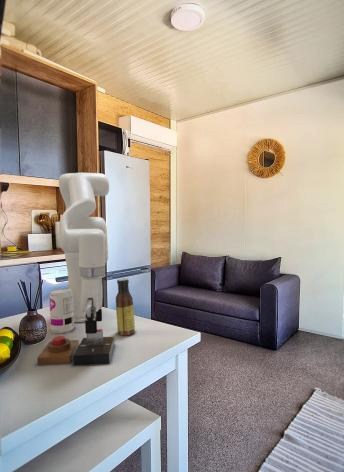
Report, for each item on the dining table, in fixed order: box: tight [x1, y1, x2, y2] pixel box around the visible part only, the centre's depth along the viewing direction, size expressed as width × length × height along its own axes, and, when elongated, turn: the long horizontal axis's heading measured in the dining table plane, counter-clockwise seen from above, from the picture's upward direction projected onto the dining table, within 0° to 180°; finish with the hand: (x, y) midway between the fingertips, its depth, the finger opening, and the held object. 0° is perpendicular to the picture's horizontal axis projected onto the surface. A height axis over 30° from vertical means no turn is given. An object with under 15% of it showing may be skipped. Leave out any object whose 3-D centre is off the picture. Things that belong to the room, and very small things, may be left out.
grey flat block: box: [86, 328, 104, 346], centre depth 93 cm, size 5×2×5 cm, turn 94°
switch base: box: [73, 336, 115, 366], centre depth 94 cm, size 13×10×3 cm
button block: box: [36, 338, 80, 366], centre depth 94 cm, size 12×9×4 cm
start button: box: [52, 335, 66, 345], centre depth 94 cm, size 4×4×2 cm
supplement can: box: [48, 288, 75, 334], centre depth 115 cm, size 8×8×15 cm
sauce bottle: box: [115, 277, 136, 336], centre depth 111 cm, size 7×6×20 cm
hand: (94, 326), depth 94 cm, fingers open, 9 cm apart
